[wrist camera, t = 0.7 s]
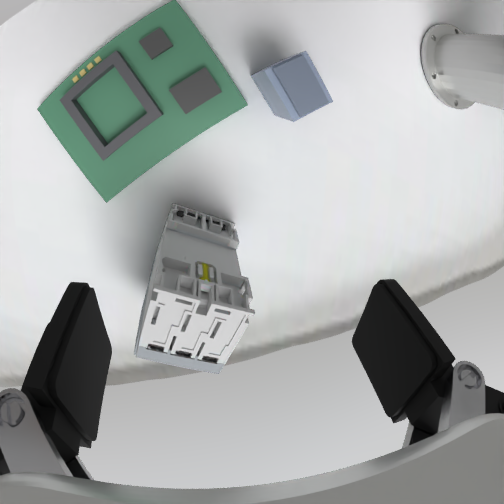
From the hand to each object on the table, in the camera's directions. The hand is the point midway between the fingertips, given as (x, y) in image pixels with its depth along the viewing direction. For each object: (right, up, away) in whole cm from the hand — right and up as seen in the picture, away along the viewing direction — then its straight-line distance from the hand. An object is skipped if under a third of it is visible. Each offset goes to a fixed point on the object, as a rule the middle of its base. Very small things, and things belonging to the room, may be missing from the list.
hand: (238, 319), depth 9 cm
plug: (+3, +19, +17) cm, 26 cm away
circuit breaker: (-8, +1, +27) cm, 28 cm away
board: (-11, +18, +16) cm, 26 cm away
